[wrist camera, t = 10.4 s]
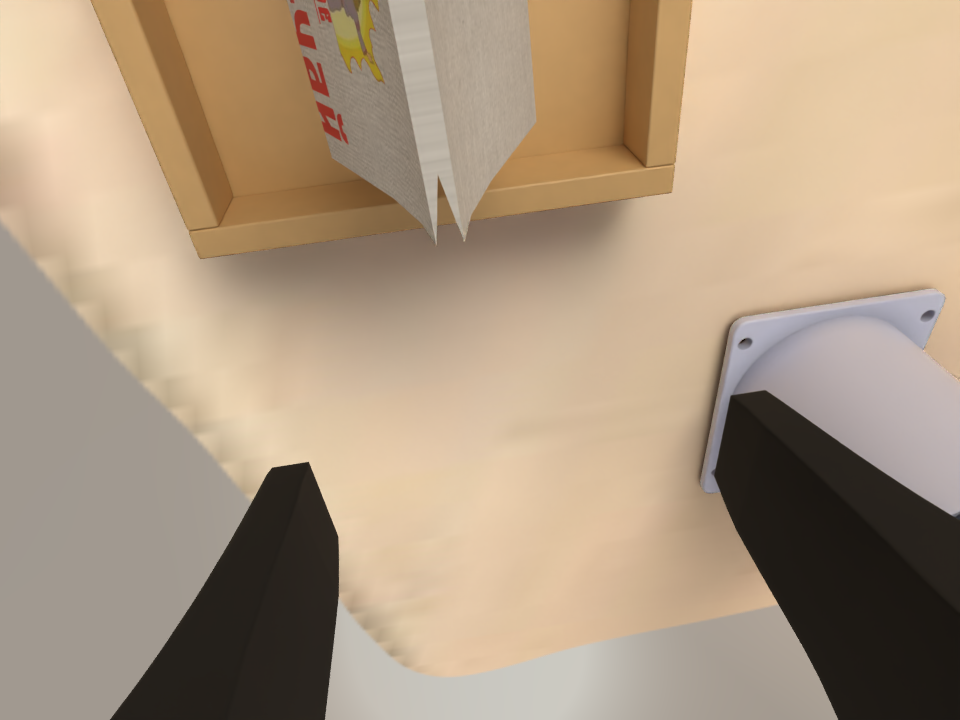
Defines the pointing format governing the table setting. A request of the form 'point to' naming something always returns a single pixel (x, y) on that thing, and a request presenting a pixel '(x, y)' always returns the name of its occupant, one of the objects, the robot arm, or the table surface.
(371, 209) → the tray
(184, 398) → the table surface
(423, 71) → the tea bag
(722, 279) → the table surface
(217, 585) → the robot arm
